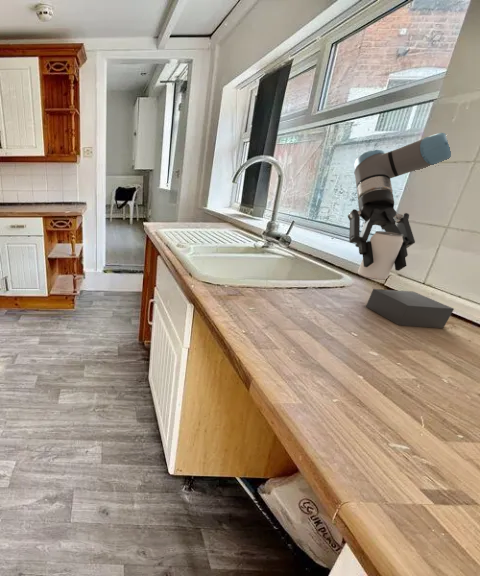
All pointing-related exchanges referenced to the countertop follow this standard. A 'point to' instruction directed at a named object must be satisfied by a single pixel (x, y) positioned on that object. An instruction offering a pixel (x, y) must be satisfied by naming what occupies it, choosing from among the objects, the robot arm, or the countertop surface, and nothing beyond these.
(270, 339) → the countertop surface
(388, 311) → the grey block
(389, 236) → the can
